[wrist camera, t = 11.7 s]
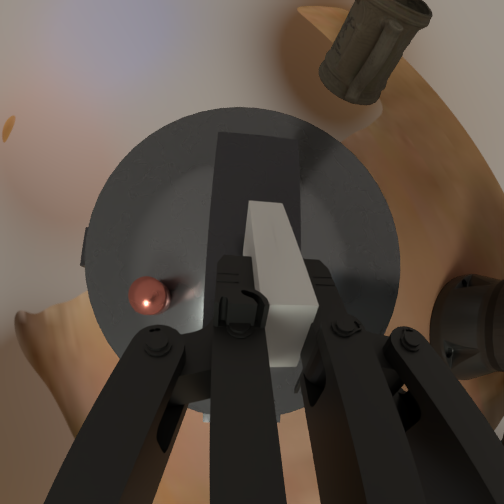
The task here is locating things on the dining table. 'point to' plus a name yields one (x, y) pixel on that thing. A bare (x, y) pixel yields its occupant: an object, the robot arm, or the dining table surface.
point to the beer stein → (371, 47)
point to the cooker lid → (233, 225)
